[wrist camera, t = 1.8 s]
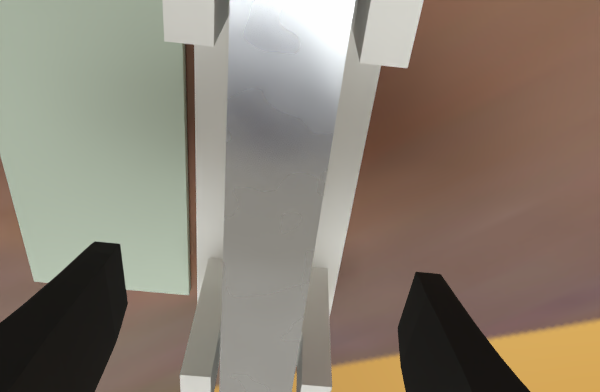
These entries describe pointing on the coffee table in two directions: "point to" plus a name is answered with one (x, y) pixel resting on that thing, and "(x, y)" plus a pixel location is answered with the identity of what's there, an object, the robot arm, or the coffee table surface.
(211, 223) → the rack
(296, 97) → the rail
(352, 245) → the coffee table surface
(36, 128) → the mat
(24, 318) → the robot arm
